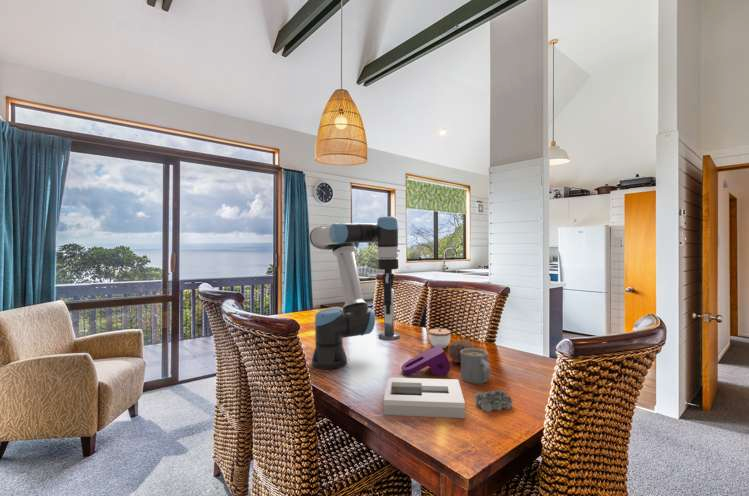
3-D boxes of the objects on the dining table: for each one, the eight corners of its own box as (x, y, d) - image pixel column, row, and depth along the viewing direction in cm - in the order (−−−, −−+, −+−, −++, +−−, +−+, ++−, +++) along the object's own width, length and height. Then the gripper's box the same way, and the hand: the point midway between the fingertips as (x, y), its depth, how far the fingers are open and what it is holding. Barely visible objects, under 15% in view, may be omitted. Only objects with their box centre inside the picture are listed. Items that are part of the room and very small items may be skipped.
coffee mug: (456, 374, 139) (456, 349, 139) (480, 372, 141) (480, 347, 141) (471, 388, 126) (471, 360, 126) (497, 385, 127) (497, 358, 127)
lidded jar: (426, 344, 181) (426, 325, 181) (447, 343, 182) (446, 324, 182) (432, 350, 170) (432, 331, 170) (454, 349, 172) (453, 330, 171)
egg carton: (484, 414, 107) (483, 400, 107) (472, 403, 115) (471, 390, 115) (515, 409, 110) (515, 396, 110) (501, 399, 117) (501, 387, 117)
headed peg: (377, 340, 129) (376, 290, 128) (379, 334, 137) (379, 287, 136) (399, 340, 128) (398, 290, 127) (400, 334, 136) (399, 288, 135)
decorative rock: (468, 369, 145) (467, 344, 145) (443, 363, 152) (442, 340, 151) (480, 360, 155) (479, 337, 155) (456, 355, 162) (455, 333, 162)
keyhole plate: (383, 414, 107) (383, 399, 107) (388, 390, 125) (388, 377, 125) (465, 418, 104) (464, 402, 104) (458, 392, 122) (458, 379, 122)
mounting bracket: (412, 392, 137) (453, 370, 138) (402, 373, 137) (444, 351, 138) (409, 382, 147) (447, 362, 148) (400, 364, 147) (438, 344, 147)
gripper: (396, 259, 123) (397, 326, 123) (399, 257, 139) (400, 316, 140) (375, 259, 124) (376, 326, 124) (380, 257, 140) (381, 316, 141)
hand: (388, 321), depth 132 cm, fingers closed on headed peg, 3 cm apart
